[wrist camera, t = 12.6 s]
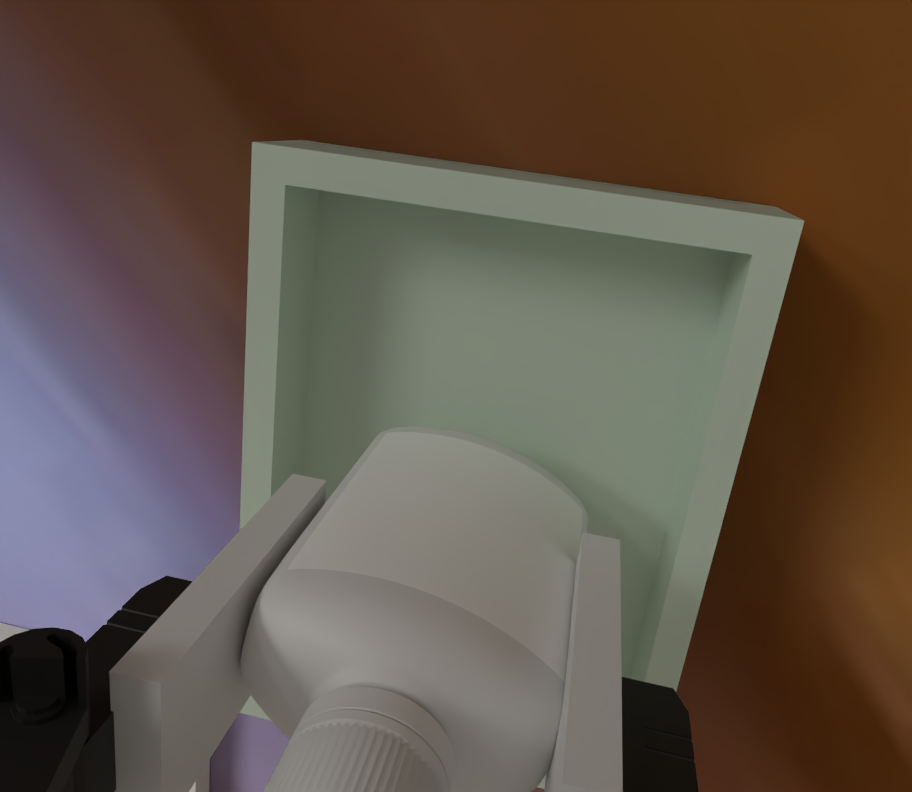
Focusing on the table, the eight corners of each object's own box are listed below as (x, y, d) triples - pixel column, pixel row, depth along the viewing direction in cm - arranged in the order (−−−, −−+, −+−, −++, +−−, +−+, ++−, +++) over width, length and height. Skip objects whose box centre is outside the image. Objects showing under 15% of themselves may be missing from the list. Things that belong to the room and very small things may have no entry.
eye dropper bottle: (463, 360, 19) (235, 709, 7) (614, 530, 19) (612, 1085, 8) (339, 463, 20) (-4, 882, 9) (483, 618, 21) (330, 1186, 10)
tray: (276, 646, 25) (233, 711, 22) (303, 140, 20) (251, 142, 17) (639, 732, 24) (643, 813, 21) (775, 206, 18) (804, 220, 15)
